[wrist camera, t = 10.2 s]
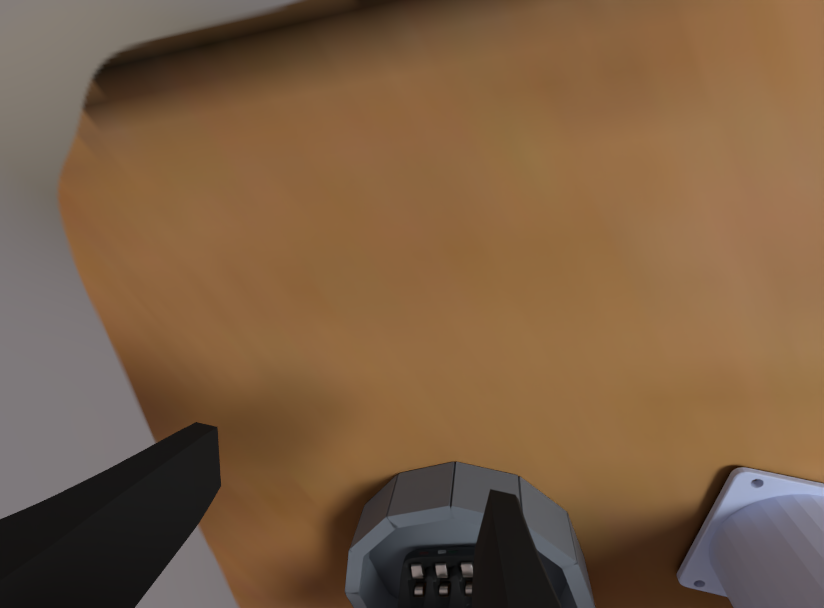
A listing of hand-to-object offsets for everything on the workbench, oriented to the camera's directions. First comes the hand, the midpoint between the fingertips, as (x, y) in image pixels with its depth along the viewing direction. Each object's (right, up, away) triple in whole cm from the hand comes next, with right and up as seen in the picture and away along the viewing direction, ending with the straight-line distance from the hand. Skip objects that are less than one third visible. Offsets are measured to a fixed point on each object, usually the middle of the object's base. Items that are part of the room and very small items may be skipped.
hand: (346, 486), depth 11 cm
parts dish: (+5, -10, +14) cm, 18 cm away
